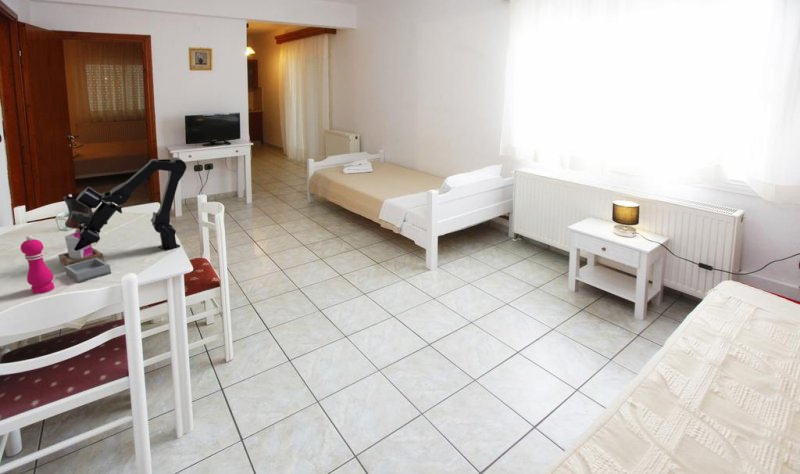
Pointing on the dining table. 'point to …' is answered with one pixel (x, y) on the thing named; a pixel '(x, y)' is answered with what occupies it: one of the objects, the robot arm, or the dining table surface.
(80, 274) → the tray
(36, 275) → the pepper mill
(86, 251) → the supplement box
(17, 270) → the dining table surface
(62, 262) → the holder
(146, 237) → the dining table surface
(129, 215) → the dining table surface
